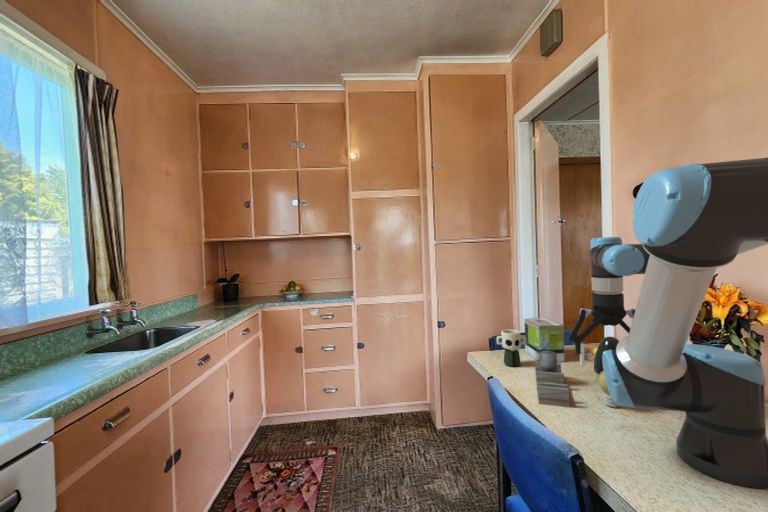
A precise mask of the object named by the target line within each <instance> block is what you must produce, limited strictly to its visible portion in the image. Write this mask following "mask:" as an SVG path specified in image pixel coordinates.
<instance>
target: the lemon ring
mask: <svg viewBox="0 0 768 512" xmlns="http://www.w3.org/2000/svg"><path fill="white" fill-rule="evenodd" d="M595 348H598V346H591V345H589V346H588V345H586V346H585V345H584V360H587V361H591V362H594V359H595V355H594V354H590V353H588V352H592V353H593V350H594V349H595ZM577 355H578V358H580V354H577Z"/></svg>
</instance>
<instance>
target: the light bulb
mask: <svg viewBox="0 0 768 512" xmlns="http://www.w3.org/2000/svg"><path fill="white" fill-rule="evenodd" d="M596 380H597V384H598V386H599V387H600V389H601V390H602V392H603V403H604V405H606V406H607V407H610V408H618V407H620V405H618V404H616V403H615V402H614V401H613V399H612V398H611V396H610V393H609V390H608V387H607V383H606V379H605V375H604V371H602V372H600V373H599V375H598V378H597V379H596Z"/></svg>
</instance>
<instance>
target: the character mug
mask: <svg viewBox="0 0 768 512" xmlns="http://www.w3.org/2000/svg"><path fill="white" fill-rule="evenodd" d="M500 339H501V341H500ZM525 344H526V337H525V335H521V331H520V330H517V329H502V330H501V335H498V336H496V345H498V346H499V345H501V347H502V348H503V349H504V351H503V352H504V354H503V363H504V365H506V366H510V367H513V366H514V365H515V367H518V366H520V365H521V364H522V363H521V356H520V351H519V349H521V347H522V345H525Z"/></svg>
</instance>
